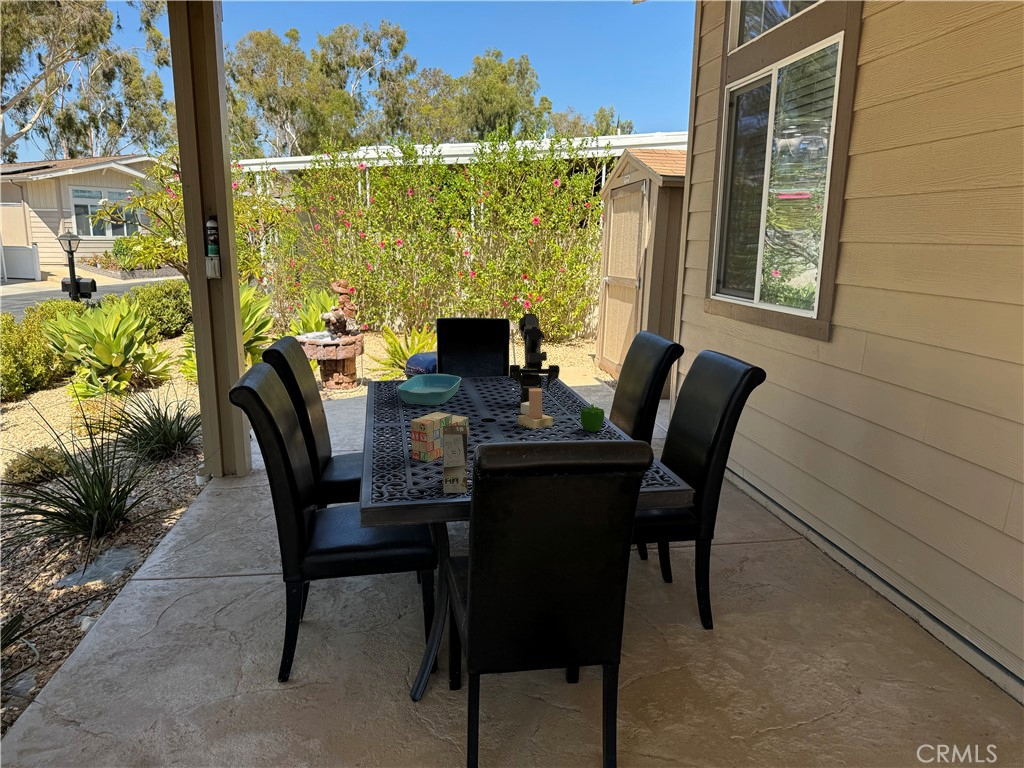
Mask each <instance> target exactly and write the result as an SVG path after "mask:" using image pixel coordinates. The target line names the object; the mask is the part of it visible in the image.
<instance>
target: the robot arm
mask: <svg viewBox="0 0 1024 768" xmlns="http://www.w3.org/2000/svg"><path fill="white" fill-rule="evenodd" d="M518 331H520V332H519V333H520V334H519V335H520V336H521V338H522V341H523V343H524V344H523V346H524V365H523V367H522V368H521V364H510V365H509V367H508V368H509V369H508V378H509V379H512V381H515V382H516V384H517V385H518V387H519V390H520V391H521V392H520V401H518V403H519V404H521V403H525V402H529V388H541V389H542V386H543V385H542V384H543V378H542V375H547V379H546V392H549V389H550V386H551V383H552V382H553V381H556V380H557V379H559V376H560V371H561V370H560V366H559V365H558V364H548V368H542V367H543V362H547V360H548V359H547V358H548V355H547V351H541V350H542V349H541V347H542V342H543V340H544V339H545V337H546V334H544V332H543V331H542V329H541V327H540V319H539V318H538V317H537V314H536V313H524V314H523V316H521V317H519V319H518Z"/></svg>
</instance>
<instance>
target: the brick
mask: <svg viewBox="0 0 1024 768" xmlns="http://www.w3.org/2000/svg"><path fill="white" fill-rule="evenodd" d="M520 413H521V415H526V414H529V402H525V403H520Z"/></svg>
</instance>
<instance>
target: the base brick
mask: <svg viewBox="0 0 1024 768" xmlns="http://www.w3.org/2000/svg"><path fill="white" fill-rule="evenodd" d="M517 424H518V425H519V426H522V425H523V427H525V426H526V427H525V428H528V427H529V428H528V429H531V428H532V429H531V430H537V429H536V428H539V429H543V428H542V427H544V428H548V427H547V426H549V427H553V426H554V417H552V416H549V415H546V414H543V413H542V418H530V416H529V414H521V415H518V418H517ZM552 425H553V426H552Z"/></svg>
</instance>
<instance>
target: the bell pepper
mask: <svg viewBox="0 0 1024 768" xmlns="http://www.w3.org/2000/svg"><path fill="white" fill-rule="evenodd" d="M604 419H605V410H604V408H599V406H595V405H594V403H591V404H590V407H589V406H585V407H584V408H581V410H580V422H581V427H582V429H583V430H585V431H587V432H591V433H593V432H595V433H597V432H598V431H599V430H601V428H602V427H603V422H604Z"/></svg>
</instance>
